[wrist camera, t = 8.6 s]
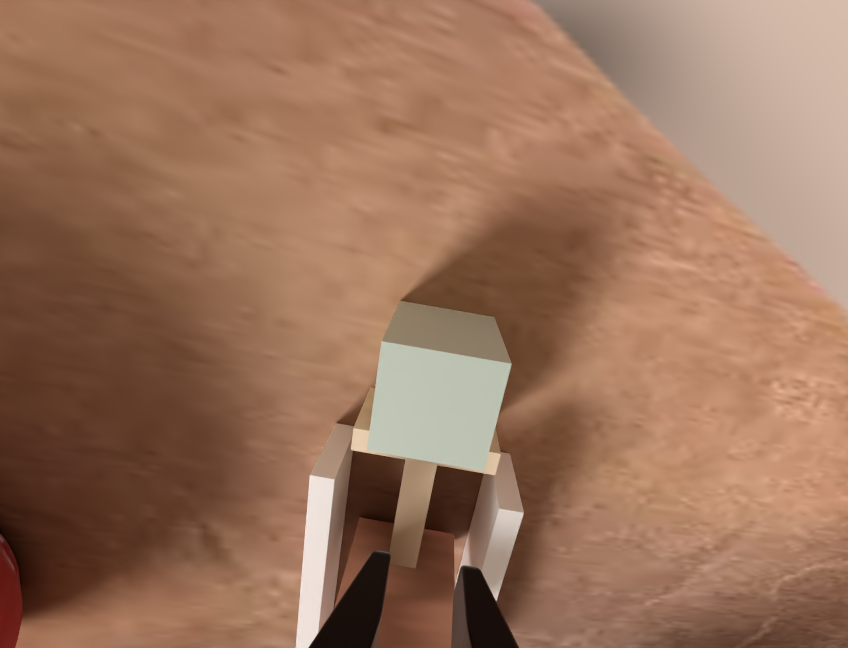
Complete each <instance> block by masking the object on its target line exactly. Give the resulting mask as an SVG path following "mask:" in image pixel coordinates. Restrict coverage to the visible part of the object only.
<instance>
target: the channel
mask: <svg viewBox="0 0 848 648" xmlns="http://www.w3.org/2000/svg"><path fill="white" fill-rule="evenodd" d="M353 428H354V426H350V425H344V424H338V423H336V424H335V426H334V428H333V430H332V432H331V434H330V436H329V438H328V440H327V442H326V444H325V446H324V448H323V450H322V452H321V454H320V456H319V458H318V460H317V462H316V464H315V466H314V468H313V470H312V472H311V474H310V481H309V494H308V506H307V518H306V530H305V542H304V554H303V566H302V578H301V591H300V603H299V615H298V627H297V639H296V648H308V647H309V646H310V644H311V643H312V641H313V640H314V638H315V637H316V635H317V634H318V632H319V631H320V629H321V628H322V626H323V625H324V623H325V622H326V620H327V619H328V617H329V616H330V614H331V613H332V611H333V608H334V600H335V592H336V584H337V576H338V568H339V559H340V551H341V543H342V535H343V527H344V519H345V511H346V503H347V494H348V486H349V478H350V470H351V462H352V454H353V450H351V444H352V436H353ZM523 514H524V511H523V507H522V503H521V498H520V494H519V490H518V486H517V481H516V477H515V473H514V469H513V464H512V460H511V456H510V454H509V453H503V452H501V456H500V459H499V463H498V467H497V471H496V474H495V475H490V474H484V475H483V479H482V482H481V486H480V490H479V494H478V498H477V502H476V506H475V509H474V513H473V517H472V521H471V525H470V529H469V533H468V537H467V540H466V544H465V548H464V552H463V556H462V560H461V564H460V567H459V571H460V568H461V566H463V565H467V566H473V567H477V568H479V569H480V570H481V572H482V573H483V575H484V578H485V580H486V582H487V584H488V586H489V588H490V590H491V592H492V594H493V596H494V598H495V600H496V601H497V598H498V594H499V591H500V588H501V585H502V582H503V578H504V575H505V572H506V569H507V566H508V562H509V559H510V556H511V553H512V550H513V546H514V543H515V540H516V537H517V534H518V530H519V527H520V524H521V521H522V517H523ZM459 571H458V575H459ZM458 575H457V579H458ZM457 579H456V583H457ZM456 583H455V586H456Z"/></svg>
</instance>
